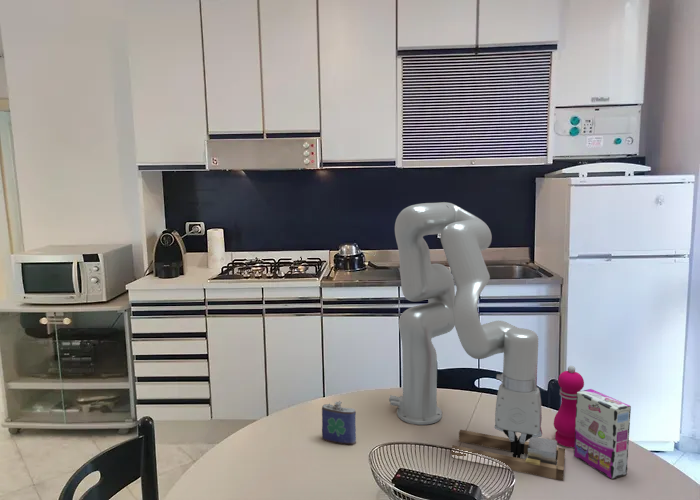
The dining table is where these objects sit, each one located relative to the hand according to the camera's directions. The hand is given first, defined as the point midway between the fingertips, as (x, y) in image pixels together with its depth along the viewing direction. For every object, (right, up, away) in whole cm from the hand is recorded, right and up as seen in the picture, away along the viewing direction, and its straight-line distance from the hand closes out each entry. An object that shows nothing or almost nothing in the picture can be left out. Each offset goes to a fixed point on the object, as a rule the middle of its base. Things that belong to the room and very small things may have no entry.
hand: (517, 455), depth 125 cm
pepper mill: (+16, 0, +8) cm, 18 cm away
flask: (-43, -1, +10) cm, 44 cm away
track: (-2, -1, +1) cm, 2 cm away
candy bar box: (+18, -1, -3) cm, 19 cm away
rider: (+5, -1, -2) cm, 6 cm away
